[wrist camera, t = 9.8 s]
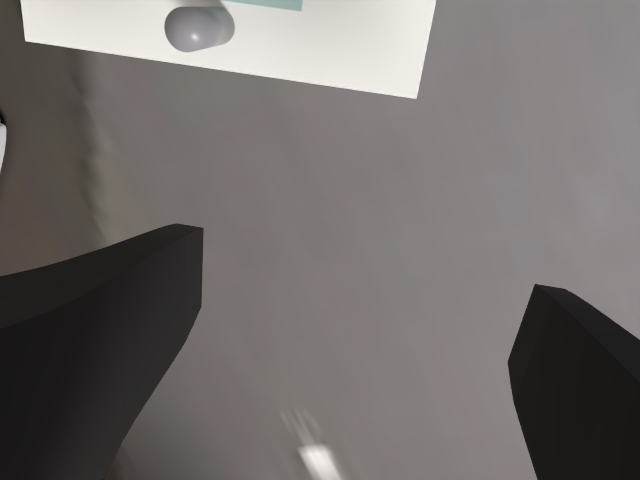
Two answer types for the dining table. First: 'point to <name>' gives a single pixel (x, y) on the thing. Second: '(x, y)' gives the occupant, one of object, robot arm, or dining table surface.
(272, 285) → the dining table surface
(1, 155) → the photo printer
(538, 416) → the robot arm
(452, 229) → the dining table surface
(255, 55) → the dock
